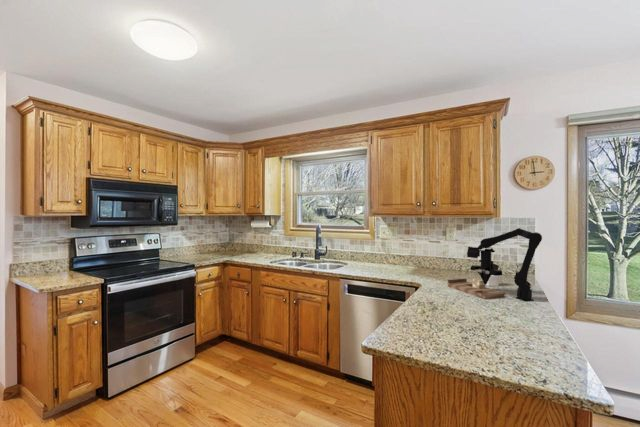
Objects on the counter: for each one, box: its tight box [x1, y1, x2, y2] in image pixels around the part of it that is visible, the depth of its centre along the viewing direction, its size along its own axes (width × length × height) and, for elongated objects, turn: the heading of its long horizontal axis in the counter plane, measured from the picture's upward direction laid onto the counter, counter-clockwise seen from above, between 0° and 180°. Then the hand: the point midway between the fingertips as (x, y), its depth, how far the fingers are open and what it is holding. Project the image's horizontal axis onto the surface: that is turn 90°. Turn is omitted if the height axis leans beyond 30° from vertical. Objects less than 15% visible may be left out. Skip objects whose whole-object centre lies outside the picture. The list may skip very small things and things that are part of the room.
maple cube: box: [472, 278, 486, 289], centre depth 189 cm, size 5×5×5 cm
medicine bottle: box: [485, 269, 500, 287], centre depth 206 cm, size 7×7×12 cm
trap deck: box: [447, 278, 506, 300], centre depth 188 cm, size 30×15×4 cm, turn 18°
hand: (485, 284), depth 184 cm, fingers closed
